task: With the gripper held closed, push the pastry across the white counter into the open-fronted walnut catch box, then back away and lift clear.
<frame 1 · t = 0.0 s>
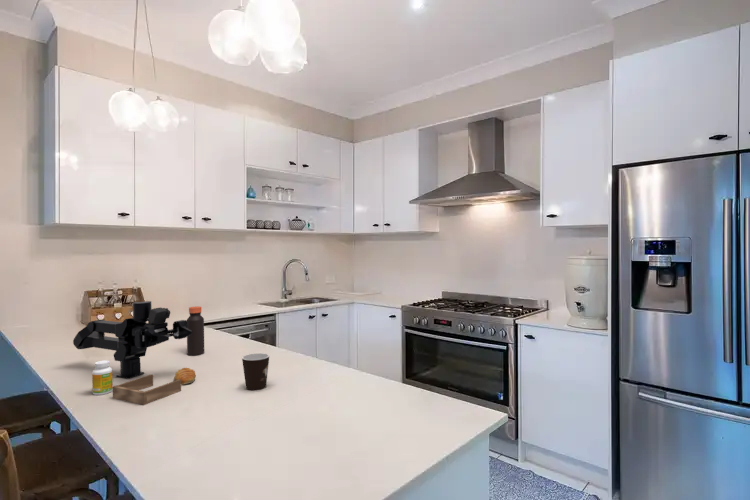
hand: (180, 335, 140), 17 cm above the counter, tool horizontal, fingers open, 9 cm apart
vinegar: (195, 354, 180), on the counter
catch box: (149, 393, 132), on the counter
pastry: (185, 381, 145), on the counter
coffee mug: (259, 386, 139), on the counter
supplement bottle: (102, 392, 134), on the counter
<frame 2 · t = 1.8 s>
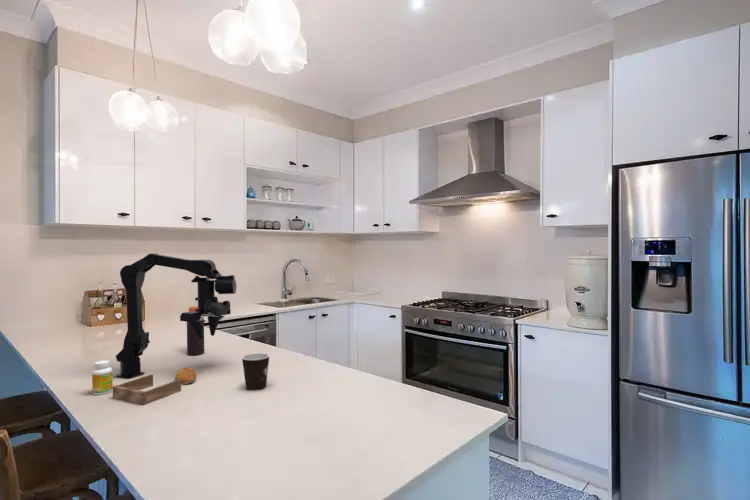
hand: (206, 337, 153), 13 cm above the counter, tool pointing down, fingers open, 5 cm apart
nothing on the counter moved.
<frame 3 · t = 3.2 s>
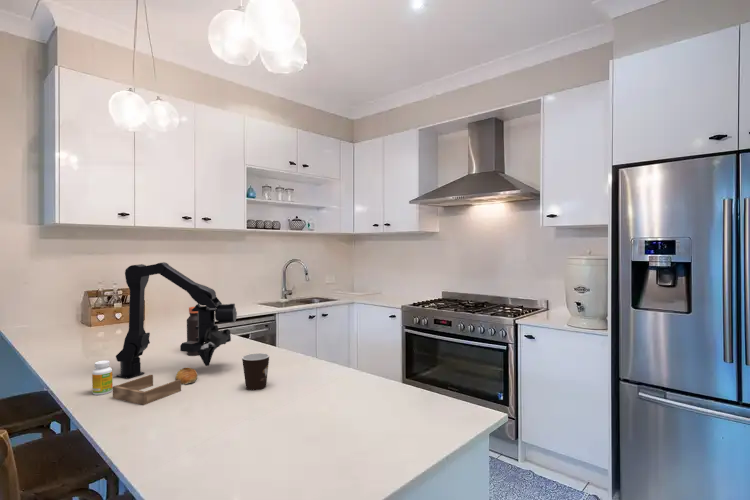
hand: (207, 365, 154), 3 cm above the counter, tool pointing down, fingers closed
nothing on the counter moved.
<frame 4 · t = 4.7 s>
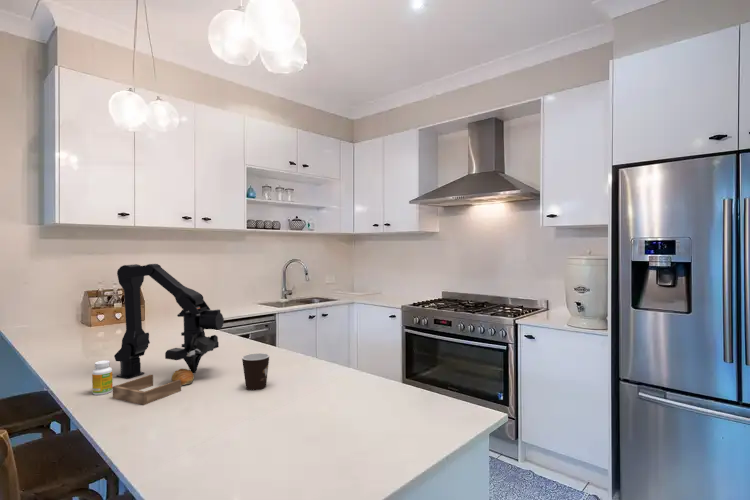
hand: (193, 373, 148), 2 cm above the counter, tool pointing down, fingers closed
pastry: (183, 382, 144), on the counter
everything else where it was.
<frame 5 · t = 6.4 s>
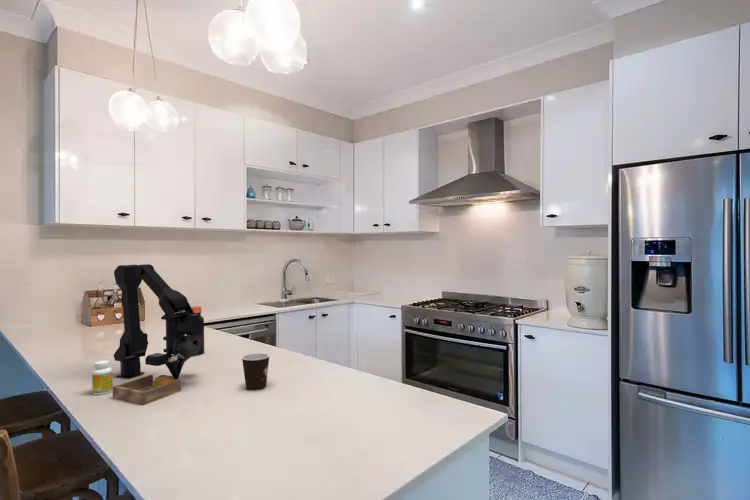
hand: (176, 379, 141), 2 cm above the counter, tool pointing down, fingers closed
pastry: (166, 389, 138), on the counter
everything else where it was.
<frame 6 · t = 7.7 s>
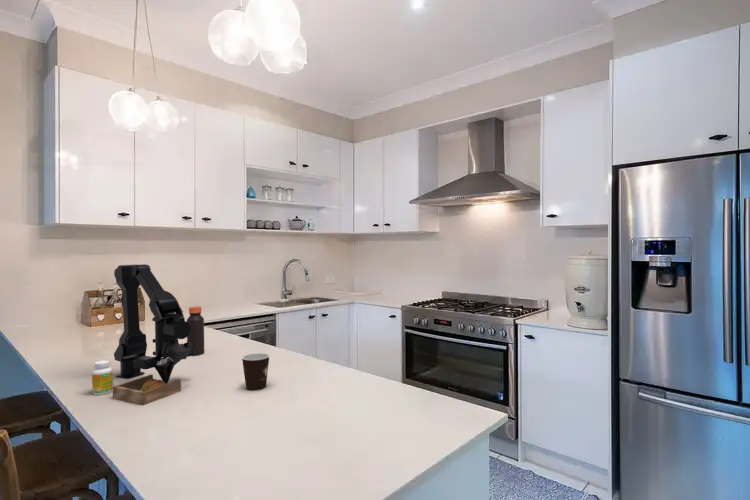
hand: (165, 382, 138), 2 cm above the counter, tool pointing down, fingers closed
pastry: (156, 393, 134), on the counter
everything else where it was.
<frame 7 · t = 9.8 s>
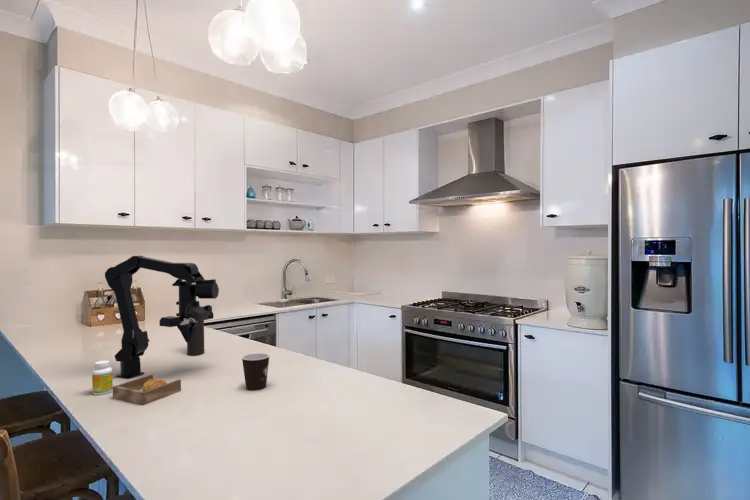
hand: (188, 342, 149), 12 cm above the counter, tool pointing down, fingers closed
nothing on the counter moved.
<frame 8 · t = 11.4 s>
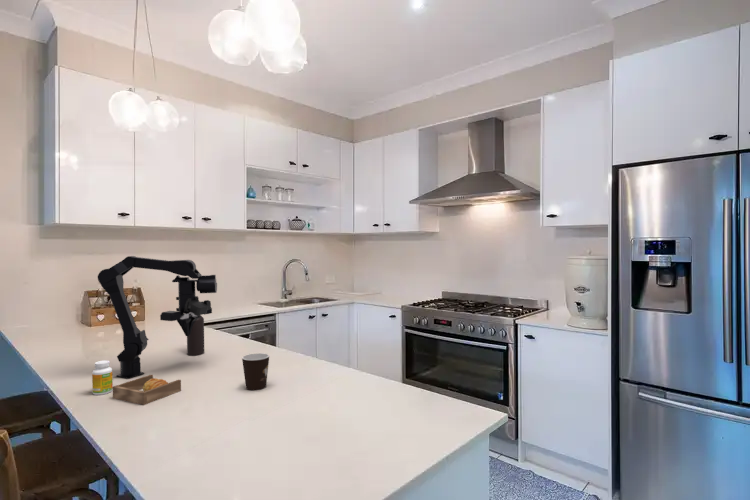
hand: (187, 336, 155), 13 cm above the counter, tool pointing down, fingers closed
nothing on the counter moved.
at the end: pastry inside the target area on the catch box (3.3 cm from its centre), point -0.5 cm above the catch box's base; pastry moved 11.3 cm from its start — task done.
